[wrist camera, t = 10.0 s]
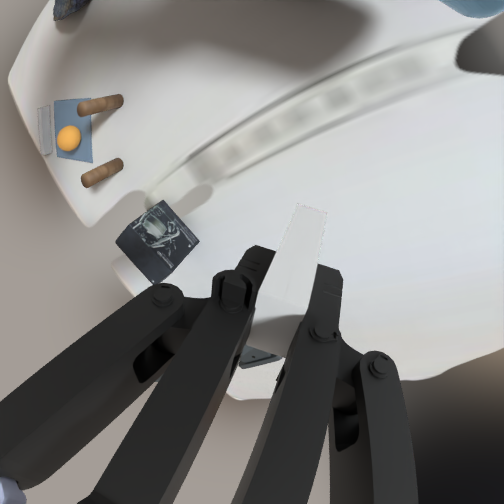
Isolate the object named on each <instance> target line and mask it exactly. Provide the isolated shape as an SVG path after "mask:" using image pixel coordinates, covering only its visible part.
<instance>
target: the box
mask: <svg viewBox="0 0 504 504" xmlns="http://www.w3.org/2000/svg"><path fill="white" fill-rule="evenodd" d="M199 242H200V241H199V240H198V239H197V237H196V236H195V235H194V234H193V233H192V232H191V231H190V230H189V228H188V227H187V226H186V225H185V224H184V223H183V222H182V221H181V219H180V218H179V217H178V216H177V215H176V214H175V213H174V212H173V210H172V209H171V208H170V207H169V206H168V205H167V203H166V202H165V201H164V200H162V201H161V202H159V203H158V204H157V205H155V206H154V207H152V208H151V209H150V210H148V211H147V212H145V213H144V214H143V215H141V216H140V217H139V218H137V219H136V220H134V221H133V222H132V223H130V224H129V225H128V226H127V227H126V229H125V230H124V231H123V232H122V233H121V235H120V236H119V237H118V238H117V240H116V244H117V245H118V246H119V248H120V249H121V250H122V251H123V252H124V253H125V254H126V256H127V257H128V258H129V259H130V260H131V261H132V262H133V263H134V265H135V266H136V267H137V268H138V269H139V270H140V271H141V272H142V273H143V274H144V275H145V277H146V278H147V279H148V280H149V281H150V282H151V283H152V284H153V285H154V284H159V283H160V282H162V281H163V280H164V279H166V278H167V277H168V276H169V275H170V274H171V273H172V272H173V271H174V270H175V269H176V268H177V266H178V265H179V264H180V263H181V262H182V261H183V260H184V258H185V257H186V256H187V255H188V254H189V253H190V252H191V251H192V250H193V248H194V247H195V246H196V245H197V244H198V243H199Z"/></svg>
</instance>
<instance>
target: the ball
mask: <svg viewBox="0 0 504 504" xmlns="http://www.w3.org/2000/svg"><path fill="white" fill-rule="evenodd" d="M80 140H81V133H80V130H79V129H78V128H77V127H75V126H72V125H69V126H66V127H64V128H63V129H62V130H61V131H60V132H59V134H58V136H57V144H58V146H59V148H60V149H62V150H64V151H71V150H73V149H75V148H76V147H77V146H78V145H79V143H80Z"/></svg>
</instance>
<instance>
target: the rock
mask: <svg viewBox="0 0 504 504" xmlns="http://www.w3.org/2000/svg"><path fill="white" fill-rule="evenodd" d="M88 1H89V0H55V5H54V9H53V11H54V12H53V15H54V21H56V20H62V19H63V18H65V17H66V16H67V15H69V14H71V13H73V12H76V11H78V10H79V9H80V8H81V7H83V6H84V5H85V4H86V3H87V2H88Z"/></svg>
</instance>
